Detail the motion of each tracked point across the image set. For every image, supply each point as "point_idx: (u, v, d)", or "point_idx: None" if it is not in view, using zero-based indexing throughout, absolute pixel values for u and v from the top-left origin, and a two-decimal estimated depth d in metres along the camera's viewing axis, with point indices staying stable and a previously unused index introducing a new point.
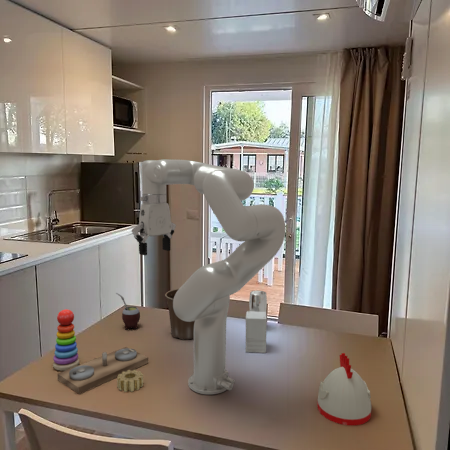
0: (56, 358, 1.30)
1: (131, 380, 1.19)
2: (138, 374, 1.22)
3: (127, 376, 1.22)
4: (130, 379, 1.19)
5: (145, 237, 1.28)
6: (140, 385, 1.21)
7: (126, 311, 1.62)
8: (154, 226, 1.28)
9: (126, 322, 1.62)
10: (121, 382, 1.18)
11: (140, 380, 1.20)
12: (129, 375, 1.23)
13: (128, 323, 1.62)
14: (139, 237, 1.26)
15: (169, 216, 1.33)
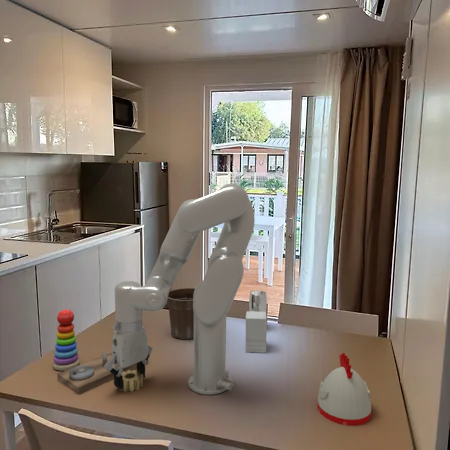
0: (56, 358, 1.30)
1: (131, 380, 1.18)
2: (138, 374, 1.22)
3: (127, 376, 1.22)
4: (130, 379, 1.19)
5: (120, 370, 1.17)
6: (140, 385, 1.20)
7: None
8: (128, 357, 1.17)
9: None
10: None
11: (140, 380, 1.20)
12: (129, 375, 1.23)
13: None
14: (114, 371, 1.15)
15: (145, 340, 1.21)
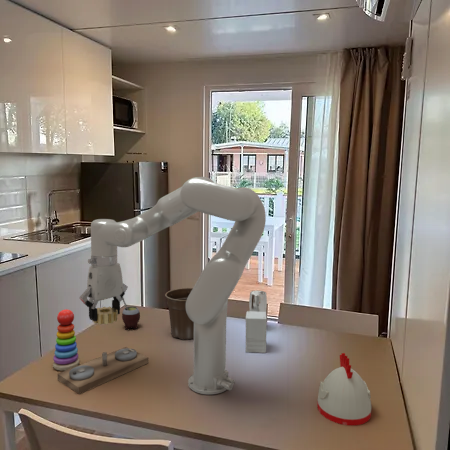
0: (56, 358, 1.30)
1: (105, 313, 1.23)
2: (113, 309, 1.27)
3: (102, 311, 1.27)
4: (104, 313, 1.24)
5: (95, 302, 1.21)
6: (114, 319, 1.25)
7: (126, 311, 1.62)
8: (103, 290, 1.21)
9: (126, 322, 1.62)
10: None
11: (114, 314, 1.25)
12: (104, 311, 1.27)
13: (128, 323, 1.62)
14: (88, 303, 1.20)
15: (120, 277, 1.26)
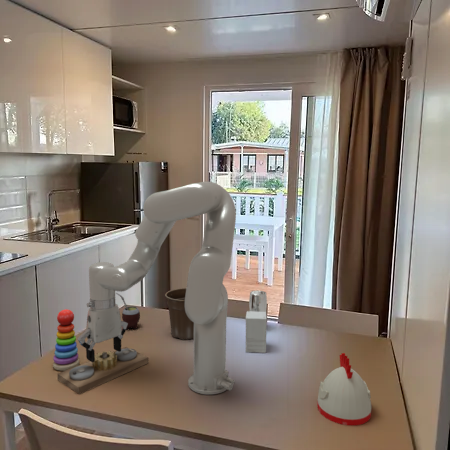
0: (56, 358, 1.30)
1: (105, 360, 1.26)
2: (112, 355, 1.30)
3: None
4: (104, 359, 1.27)
5: (92, 344, 1.24)
6: (114, 365, 1.28)
7: (126, 311, 1.62)
8: (102, 332, 1.24)
9: (126, 322, 1.62)
10: (95, 362, 1.26)
11: (114, 360, 1.28)
12: None
13: (128, 323, 1.62)
14: (85, 345, 1.23)
15: (119, 318, 1.29)
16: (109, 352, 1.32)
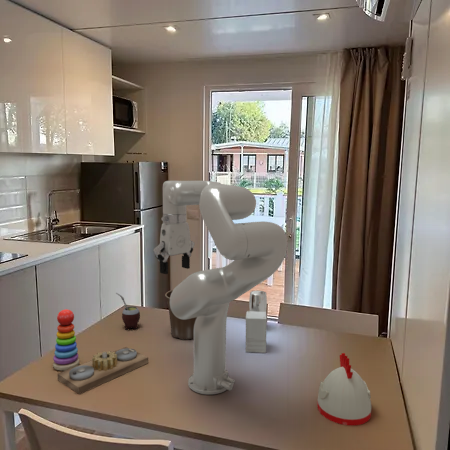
0: (56, 358, 1.30)
1: (105, 360, 1.26)
2: (112, 355, 1.30)
3: None
4: (104, 359, 1.27)
5: (166, 256, 1.30)
6: (114, 365, 1.28)
7: (126, 311, 1.62)
8: (175, 246, 1.30)
9: (126, 322, 1.62)
10: (95, 362, 1.26)
11: (114, 360, 1.28)
12: None
13: (128, 323, 1.62)
14: (160, 256, 1.29)
15: (189, 235, 1.35)
16: (109, 352, 1.32)
